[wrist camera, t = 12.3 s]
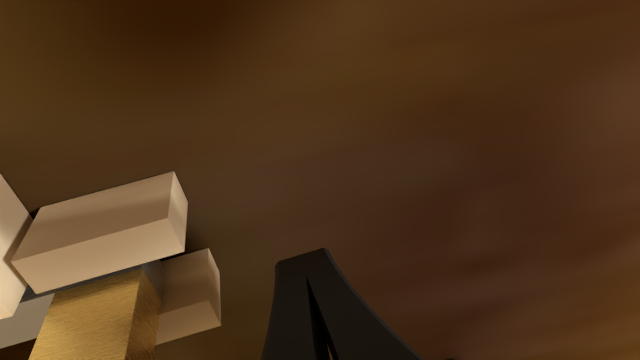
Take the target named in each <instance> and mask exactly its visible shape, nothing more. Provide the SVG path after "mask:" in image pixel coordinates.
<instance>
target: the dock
mask: <svg viewBox="0 0 640 360" xmlns="http://www.w3.org/2000/svg"><path fill="white" fill-rule="evenodd" d="M187 207H188V201H187V199H186V197H185V195H184V193H183V190H182V188H181V186H180V184H179V181H178V179H177V177H176V175H175V173H174V171H173V172H169V173H165V174H162V175H158V176H154V177H151V178H147V179H143V180H140V181H136V182H132V183H129V184H125V185H121V186H118V187H114V188H110V189H107V190H103V191H99V192H96V193H92V194H88V195H85V196H81V197H77V198H74V199H70V200H66V201H63V202H59V203H55V204H52V205H48V206H44V207H41V208H40V210H39V212H38V213H37V215H36V217H35V219H34V220H33V219H32V217H31V216H30V214H29V213H28V212H27V210H26V209H25V207H24V206H23V205H22V203H21V202H20V200H19V199H18V198H17V196H16V195H15V194H14V192H13V191H12V189H11V188H10V187H9V185H8V184H7V182H6V181H5V180H4V178H3V177H2V175H1V174H0V319H4V318H7V317H11V316H13V315H14V313H15V311H16V308H17V306H18V304H19V302H20V300H21V298H22V296H23V294H24V292H25V290H26V287H27V285H28V284H29V285H30V287H31V288H32V289H33V290H34V292H35V293H36V294H38V293H42V292H45V291H49V290H52V289H56V288H59V287H63V286H66V285H70V284H73V283H77V282H80V281H84V280H87V279H91V278H94V277H98V276H101V275H104V274H108V273H111V272H115V271H118V270H122V269H125V268H129V267H132V266H136V265H139V264H143V263H146V262H150V261H153V260H157V259H160V258H164V257H167V256H171V255H174V254H178V253H181V252H184V249H185V235H186V221H187ZM161 262H162V264H163V266H164V268H165V274H164V282H163V291H162V299H161V307H160V315H159V324H158V332H157V340H156V345H158V344H161V343H164V342H168V341H171V340H174V339H177V338H181V337H184V336H187V335H191V334H194V333H197V332H201V331H204V330H207V329H211V328H214V327H217V326H221V312H220V276H219V270H218V268H217V266H216V264H215V261H214V259H213V257H212V255H211V253H210V250H209V248H206V249H203V250H200V251H196V252H193V253H189V254H186V255H182V256H179V257H175V258H172V259H168V260H165V261H161Z"/></svg>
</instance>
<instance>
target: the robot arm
mask: <svg viewBox="0 0 640 360" xmlns="http://www.w3.org/2000/svg"><path fill="white" fill-rule="evenodd" d="M327 344H328V346H327ZM328 347H329V349H330V352H331V355H332V357H333V360H424V359H423V358H422V357H421V356H420V355H418V354H417V353H416V352H415V351H414V350H413V349H412V348H410V347H409V346H408V345H407V344H406V343H405V342H404V341H403V340H402V339H401V338H400V337H399V336H397V335H396V334H395V333H394V332H393V331H392V330H391V329H390V328H389V327H388V326H387V325H386V324H385V323H384V322H383V321H382V320H381V319H380V317H379V316H378V315H377V314H376V313H375V312H374V311H373V310H372V309H371V308H370V307H369V306H368V304H367V303H366V302H365V301H364V300H363V299H362V297H361V296H360V295H359V294H358V293H357V292H356V290H355V289H354V288H353V287H352V285H351V284H350V283H349V282H348V280H347V279H346V277H345V276H344V275H343V273H342V272H341V271H340V269H339V268H338V266H337V265H336V263H335V261H334V260H333V258H332V256H331V254H330V252H329V250H327V249H325V248H321V249H318V250H315V251H311V252H308V253H305V254H301V255H298V256H295V257H291V258H288V259H285V260H281V261H278V263H277V264H276V266H275V288H274V296H273V304H272V310H271V316H270V321H269V326H268V332H267V336H266V341H265V345H264V349H263V353H262V357H261V360H330V357H329V352H328Z"/></svg>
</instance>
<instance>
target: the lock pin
mask: <svg viewBox="0 0 640 360" xmlns="http://www.w3.org/2000/svg"><path fill="white" fill-rule="evenodd" d="M164 274H165V268H164V266H163V264H162V262H161V260H160V259H157V260H153V261H150V262H146V263H143V264H139V265H136V266H132V267H129V268H125V269H122V270H118V271H115V272H111V273H108V274H104V275H101V276H98V277H94V278H91V279H87V280H84V281H80V282H77V283H73V284H70V285H66V286H63V287H59V288H56V289H52V290H49V291H45V292H42V293H38V294H36V293H35V292H34V290H33V289H32V288H31V287H30V285H29V284H28V285H27V287H26V290H25V292H24V294H23V296H22V298H21V300H20V302H19V304H18V306H17V308H16V311H15V313H14V315H13V316H11V317H7V318H4V319H0V349H1V348H4V347H8V346H11V345H14V344H18V343H21V342H25V341H28V340H31V339H35V338H37V340H36V342H35V345H34V347H33V350H32V352H31V355H30V357H29V360H154V357H155V348H156V340H157V332H158V324H159V315H160V307H161V299H162V291H163V282H164Z"/></svg>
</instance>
